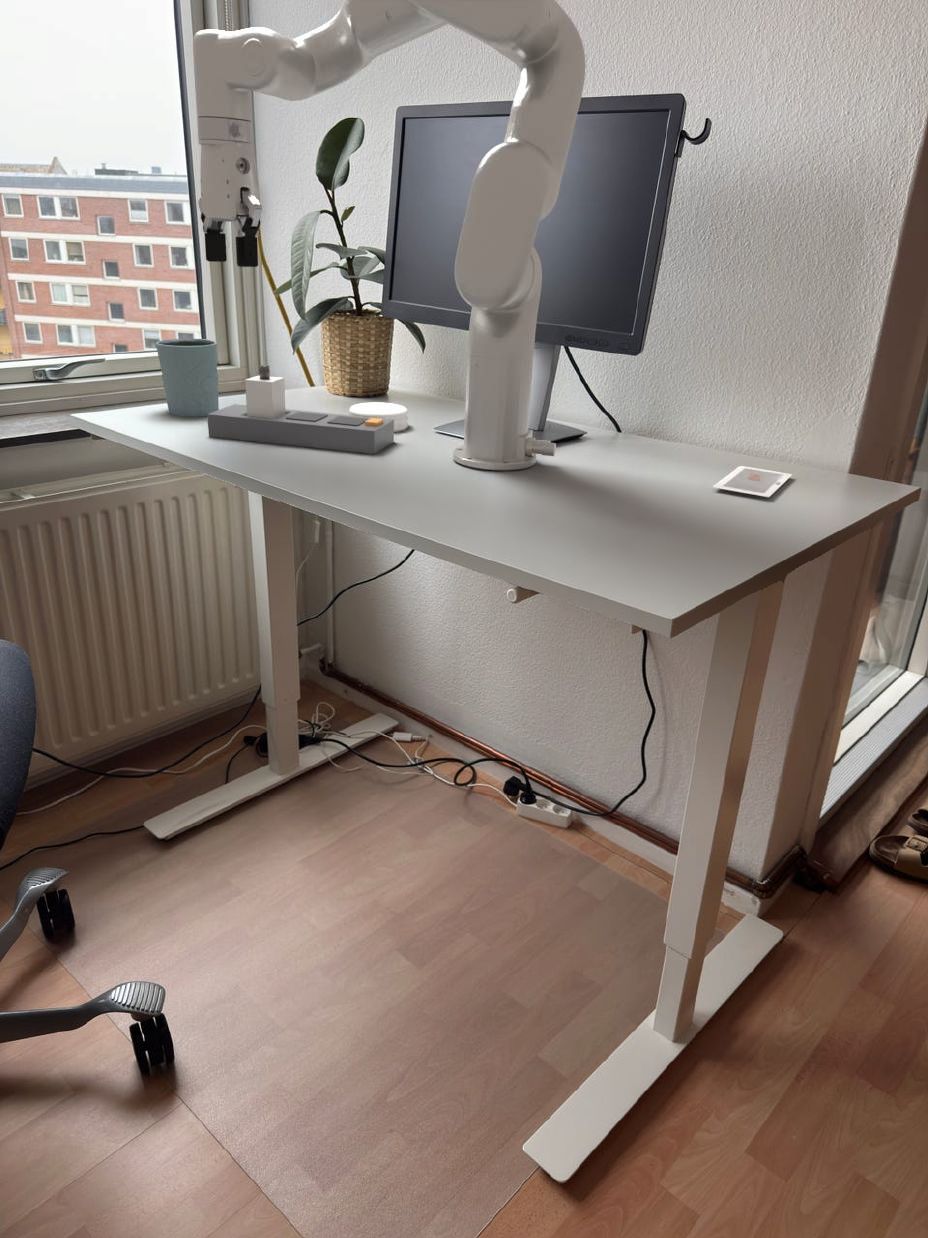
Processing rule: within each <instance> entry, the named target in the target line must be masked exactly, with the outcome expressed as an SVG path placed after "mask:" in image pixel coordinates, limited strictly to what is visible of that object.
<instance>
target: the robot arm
mask: <svg viewBox="0 0 928 1238" xmlns="http://www.w3.org/2000/svg"><path fill="white" fill-rule="evenodd" d="M447 25H450V26H451V27H453V28H454V29H457V30H459V31H461V32H463V33H465V34H467V35H470V37H473V38H475V39H477V40H479V41H480V42H482V43H484V44H486V45H488V46H489V47H491V48H492V49H494V50H495V51H496V52H498V53H499V54H501V55H502V56H503V57H505V58H507V59H508V60H510V61H511V62H513V63H514V64H515V65H516V66H517V67H518V69H519V76H520V77H519V82H518V87H517V89H516V92H515V95H514V97H513V101H512V105H511V108H510V113H509V120H508V123H507V129H506V132H505V136H504V139H503V142H501V143H499V144H497V145H495V146H494V147H493V148H491V149H490V150H489V151H488V152H487V153H486V154H485V156H484V157H483V158H482V160H480V163H479V165H478V166H477V169H476V171H475V174H474V176H473V180H472V184H471V186H470V193H469V195H468V201H467V205H466V209H465V215H464V219H463V223H462V228H461V231H460V236H459V240H458V241H459V242H458V246H457V250H456V254H455V255H456V256H455V261H454V270H453V271H454V281H455V286H456V289H457V291H458V292H459V295H460V296H461V298H462V299H463V300H464V302H466V303H467V305H469V306H471V311H470V317H469V318H470V319H469V325H468V326H469V327H468V338H467V339H468V343H467V360H466V379H465V380H466V381H465V382H466V384H465V385H466V386H465V387H466V388H465V404H464V405H465V409H464V435H463V445H460V446H458V447H456V448H455V449H454V450H453V452H452V458H453V460H454V461H455V462H456V463H457V464H460V465H463V466H466V467H469V468H474V469H480V470H488V471H490V470H491V471H516V470H523V469H528V468H530V467H532V466H534V465H535V464H536V463H537V455H542V456H546V457H548V456H549V457H555V455H556V449H557V443H556V442H555V443H554V442H551V440H546V439H536V437H533V429H529V420H530V408H531V407H530V406H531V393H532V377H533V367H534V366H533V365H534V356H535V355H534V354H535V343H536V342H535V341H536V331H537V320H538V319H537V318H538V314H539V306H540V299H541V293H542V286H543V285H542V282H543V270H542V263H541V259H540V256H539V254H538V251H537V250H536V248H535V246H534V244H535V240H536V236H537V232H538V228H539V225H540V221H542V220H544V219H545V218H546V217H547V216H548V215H549V214H550V213H551V211H552V210H553V209H554V208H555V205H556V203H557V200H558V197H559V193H560V188H561V183H562V178H563V174H564V170H565V167H566V162H567V159H568V155H569V151H570V146H571V143H572V138H573V133H574V130H575V124H576V121H577V118H578V117H577V116H578V112H579V109H580V105H581V99H582V96H583V92H584V85H585V79H586V78H585V76H586V53H585V49H584V45H583V40H582V38H581V34H580V32H579V31H578V29H577V27H576V25H575V24H574V22H573V20H572V19H571V18H570V16H569V15H568V14H567V12H566V11H565V10H564V9H563V8H562V6H561V5H560V4H559V3H558V2H557V0H342V5H341V7H340V9H339V11H338V12H337V14H336V15H335V16H334V17H333V18H331V20H329V21H328V22H326V23H325V24H323V25H322V26H319V27H318V28H316V29H314V30H312V31H309V32H308V33H305V34H303V35H300V36H299V37H296V38H292V37H290V36H288V35H284V34H282V33H279V32H278V31H275V30H272V29H270V28H266V27H261V26H260V27H258V26H257V27H249V28H244V29H240V30H235V31H227V30H226V31H225V30H219V29H203V30H199V31H198V32H196V33H195V34H194V36H193V41H192V55H193V72H194V85H195V86H194V88H195V90H194V91H195V104H196V105H195V106H196V120H197V123H196V124H197V140H198V145H200V148H201V149H200V151H201V152H200V198H199V199H198V201H197V202H198V203H197V204H198V209H199V211H200V219H201V222H202V231H203V233H204V251H205V260H206V262H210V263H211V262H212V263H213V262H214V263H215V262H216V263H217V262H218V263H219V262H220V263H221V262H222V263H223V262H224V263H225V262H227V260H228V259H227V258H228V257H227V256H228V255H227V241H226V240H227V239H226V233H223V231H224V229H225V225H226V222H232V223H233V224H234V228H235V230H236V232H237V234H238V236H235V249H236V250H235V254H236V255H235V256H236V266H237V267H238V268H239V267H240V268H257V267H258V266H259V252H258V250H259V249H258V239H259V236H260V231H259V228H260V227H261V222H262V221H261V217H262V211H263V206H262V204H261V195H260V185H259V184H260V183H259V175H258V174H259V173H258V165H257V160H256V154H255V151H254V147H253V121H252V120H253V118H252V114H253V112H252V92H255V93H260V94H263V95H266V96H271V97H275V98H278V99H281V100H286V101H290V102H297V101H303V100H306V99H310V98H312V97H314V96H317V95H319V94H321V93H324V92H325V91H328V90H330V89H333V88H335V87H337V86H339V85H341V84H344V83H345V82H346V81H347V82H348V80H350V79H351V78H353V77H354V76H356V75H357V74H359V72H361V71H362V70H363V69H364V68H366V67H367V66H369V65H370V63H371V62H372V61H373V60H375V59H376V58H377V57H379V56H380V55H383V54H385V53H388V52H390V51H391V50H394V49H396V48H398V47H400V46H403V45H405V44H407V43H409V42H411V41H414V40H416V39H418V38H421V37H423V36H425V35H427V34H429V33H432V32H433V31H436V30H438V29H441V28H443V27H445V26H447ZM251 91H252V92H251Z"/></svg>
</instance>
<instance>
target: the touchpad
mask: <svg viewBox="0 0 928 1238" xmlns="http://www.w3.org/2000/svg"><path fill="white" fill-rule="evenodd" d="M792 476H793V473H786V472H781V471H776V470H775V471H774V470H768V469H762V468H757V467H749V466H745V465H744V466H743V465H739V466H738V467H736V468H735V469H733V471H731V472H730V473H729V474H728V475H726V476H724V478H723V477H722V479H720V480H719V481H718V482H716V483H715V484H714V485H713V486H712V488H715V489H719V490H725V491H726V490H727V491H731V492H737V493H742V494H749V495H755V496H760V497H764V498H770V497H771V496H772V495H773V494H774V493H775V492H777V490H779V489H780V488H781V486H782V485H784V483H786V481H788V480H789V478H791V477H792Z"/></svg>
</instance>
